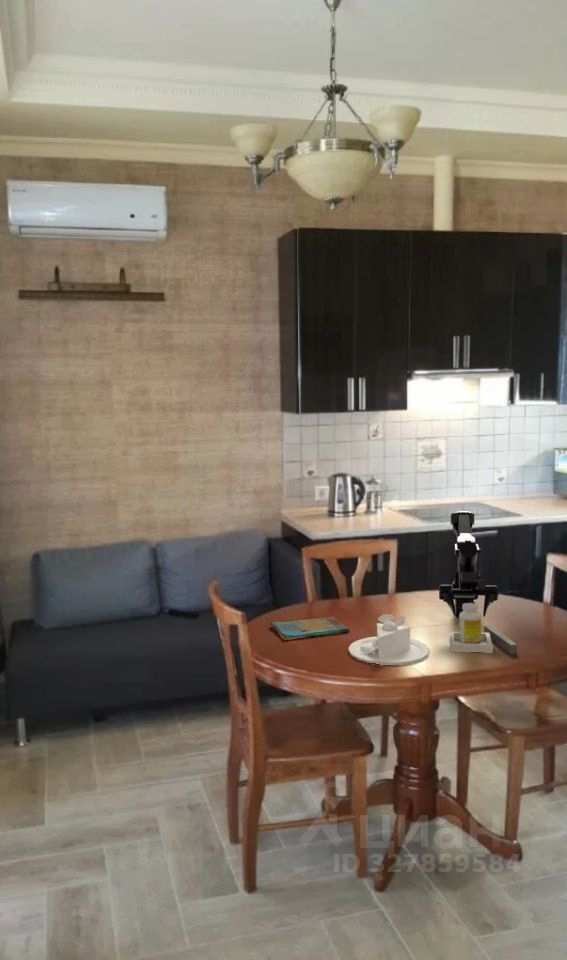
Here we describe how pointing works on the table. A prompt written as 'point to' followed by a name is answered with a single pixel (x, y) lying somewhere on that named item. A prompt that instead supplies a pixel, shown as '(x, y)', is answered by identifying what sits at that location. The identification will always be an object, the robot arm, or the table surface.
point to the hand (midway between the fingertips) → (469, 615)
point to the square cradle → (471, 644)
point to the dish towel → (310, 627)
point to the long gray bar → (501, 640)
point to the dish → (390, 645)
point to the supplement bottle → (470, 624)
